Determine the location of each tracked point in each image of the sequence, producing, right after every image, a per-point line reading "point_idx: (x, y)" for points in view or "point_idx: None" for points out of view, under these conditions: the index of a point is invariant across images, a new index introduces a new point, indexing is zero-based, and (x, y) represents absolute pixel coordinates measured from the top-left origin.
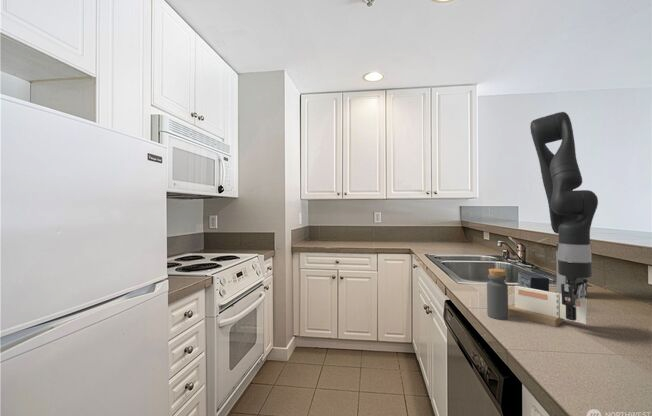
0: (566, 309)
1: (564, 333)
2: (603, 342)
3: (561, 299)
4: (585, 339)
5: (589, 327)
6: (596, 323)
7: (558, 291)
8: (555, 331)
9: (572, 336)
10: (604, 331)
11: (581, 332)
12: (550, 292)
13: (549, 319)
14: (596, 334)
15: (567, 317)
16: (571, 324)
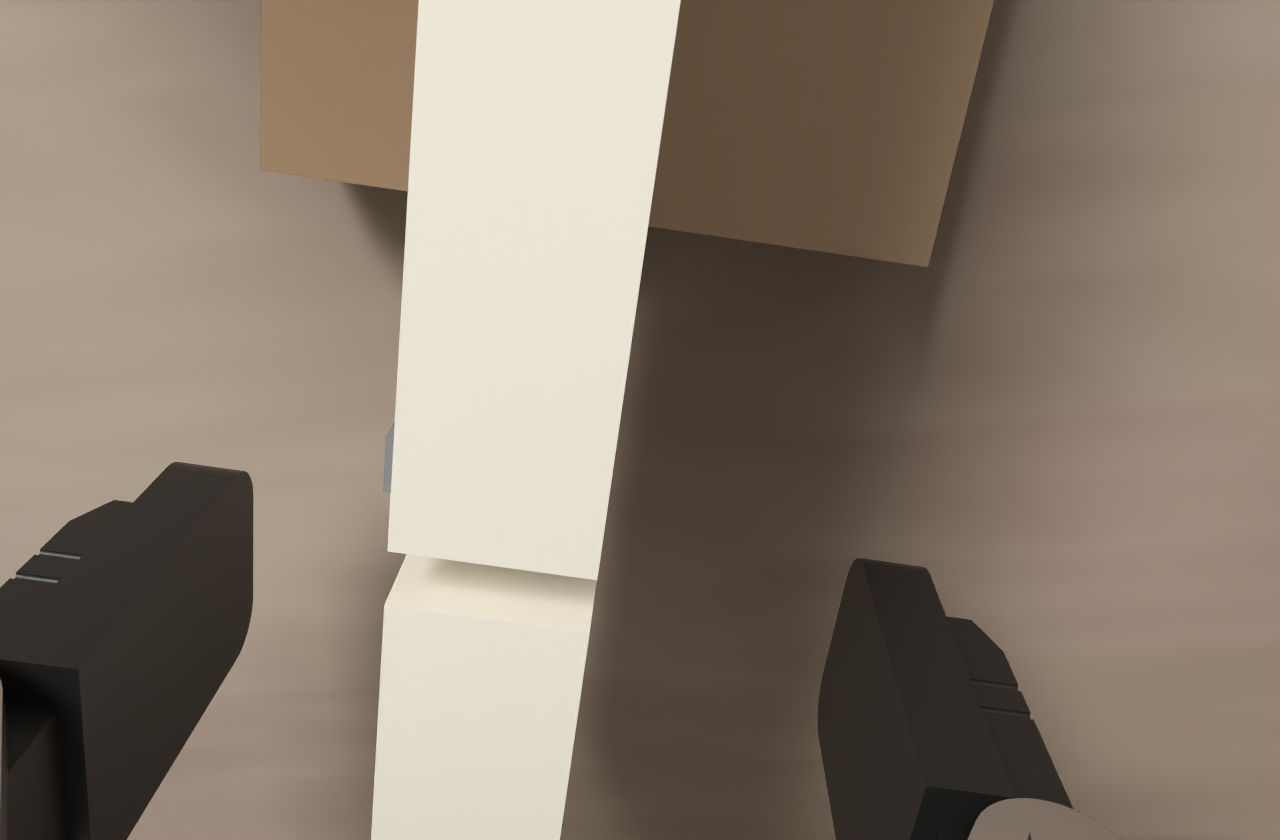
0: (47, 605)
1: (48, 345)
2: (154, 819)
3: None
4: None
5: (820, 637)
6: (1191, 707)
7: None
8: (9, 193)
9: (9, 471)
10: (755, 813)
11: (385, 561)
12: (486, 114)
13: (274, 27)
14: None
15: (104, 514)
16: (779, 376)
